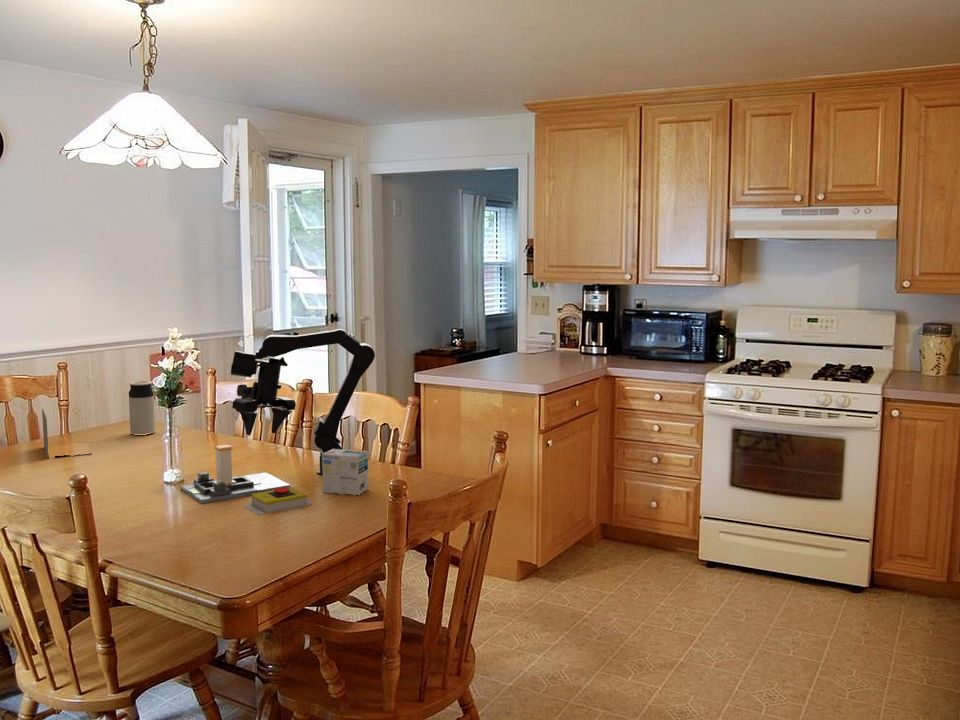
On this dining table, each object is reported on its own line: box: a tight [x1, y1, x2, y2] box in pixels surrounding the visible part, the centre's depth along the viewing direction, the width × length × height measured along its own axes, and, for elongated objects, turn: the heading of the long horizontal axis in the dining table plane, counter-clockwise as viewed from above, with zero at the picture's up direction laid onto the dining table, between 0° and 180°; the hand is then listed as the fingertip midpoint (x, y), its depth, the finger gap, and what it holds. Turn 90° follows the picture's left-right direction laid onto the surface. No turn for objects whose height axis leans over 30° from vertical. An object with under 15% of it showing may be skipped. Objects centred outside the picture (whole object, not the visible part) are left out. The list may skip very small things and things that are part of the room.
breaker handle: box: [213, 444, 236, 486], centre depth 224 cm, size 5×4×11 cm
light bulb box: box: [322, 449, 370, 496], centre depth 225 cm, size 11×7×11 cm, turn 74°
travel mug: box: [128, 380, 156, 435], centre depth 293 cm, size 8×8×18 cm
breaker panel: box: [180, 471, 291, 505], centre depth 226 cm, size 24×16×4 cm, turn 127°
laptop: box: [41, 408, 49, 458], centre depth 267 cm, size 18×12×13 cm
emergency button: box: [243, 486, 313, 516], centre depth 213 cm, size 9×4×15 cm
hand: (261, 434), depth 238 cm, fingers open, 9 cm apart
